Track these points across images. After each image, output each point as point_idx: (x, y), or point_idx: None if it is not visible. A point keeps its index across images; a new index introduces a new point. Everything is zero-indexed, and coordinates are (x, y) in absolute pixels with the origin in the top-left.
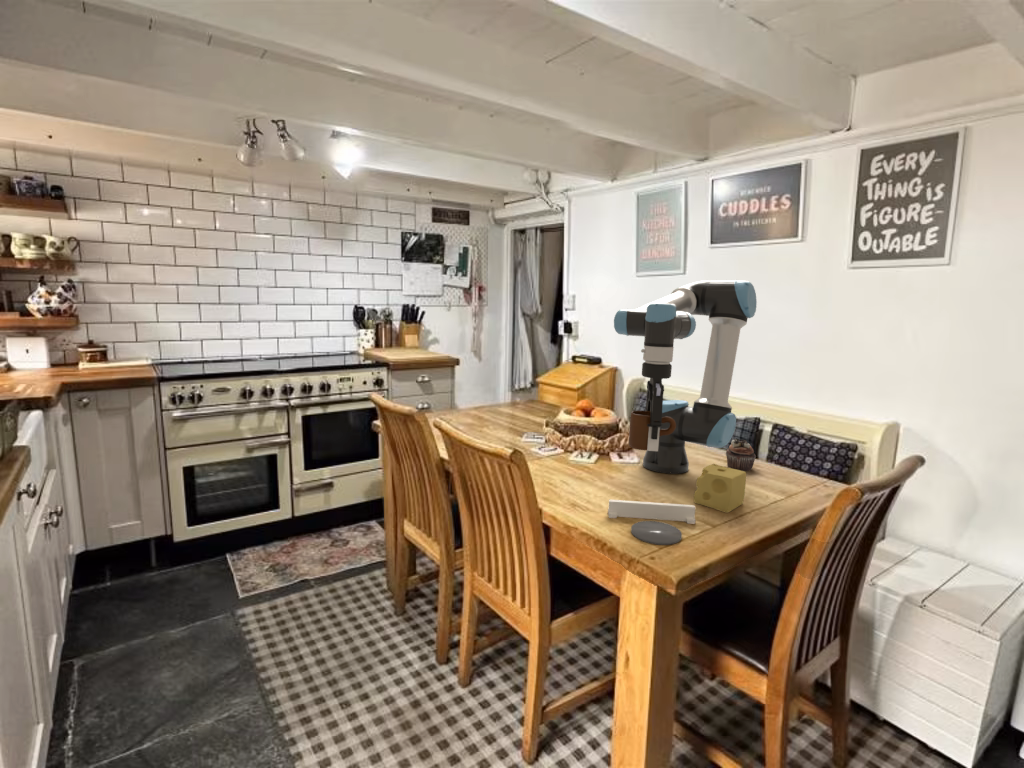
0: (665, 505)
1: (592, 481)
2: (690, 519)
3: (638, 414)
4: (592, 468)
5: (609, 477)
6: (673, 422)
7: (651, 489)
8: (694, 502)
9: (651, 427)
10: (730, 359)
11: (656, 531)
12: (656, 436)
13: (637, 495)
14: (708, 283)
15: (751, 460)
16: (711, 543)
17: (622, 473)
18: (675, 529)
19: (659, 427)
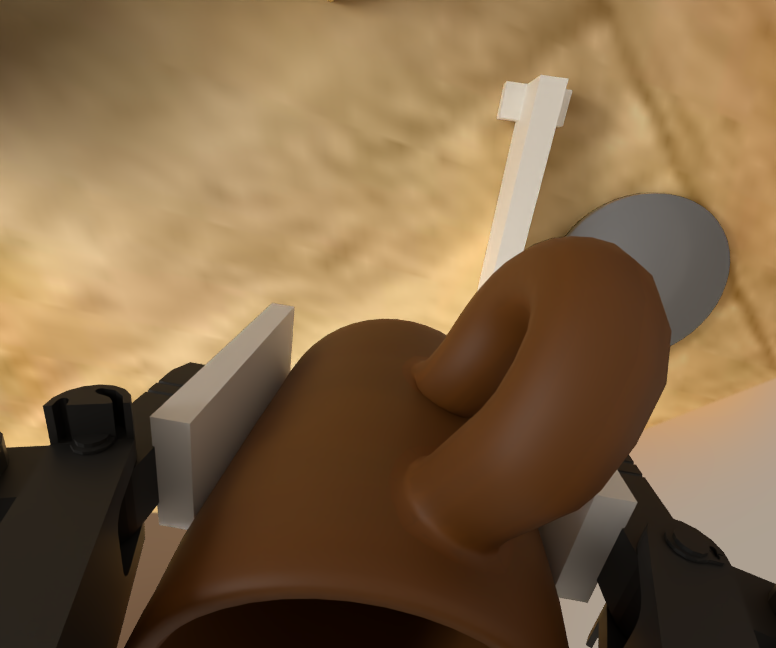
0: (531, 220)
1: (160, 375)
2: (562, 111)
3: None
4: (11, 349)
5: (95, 308)
6: (668, 329)
7: (193, 169)
8: (331, 1)
9: (594, 572)
10: None
11: None
12: (628, 464)
13: (275, 248)
14: None
15: None
16: (753, 90)
17: (26, 245)
18: (638, 208)
19: (630, 501)
